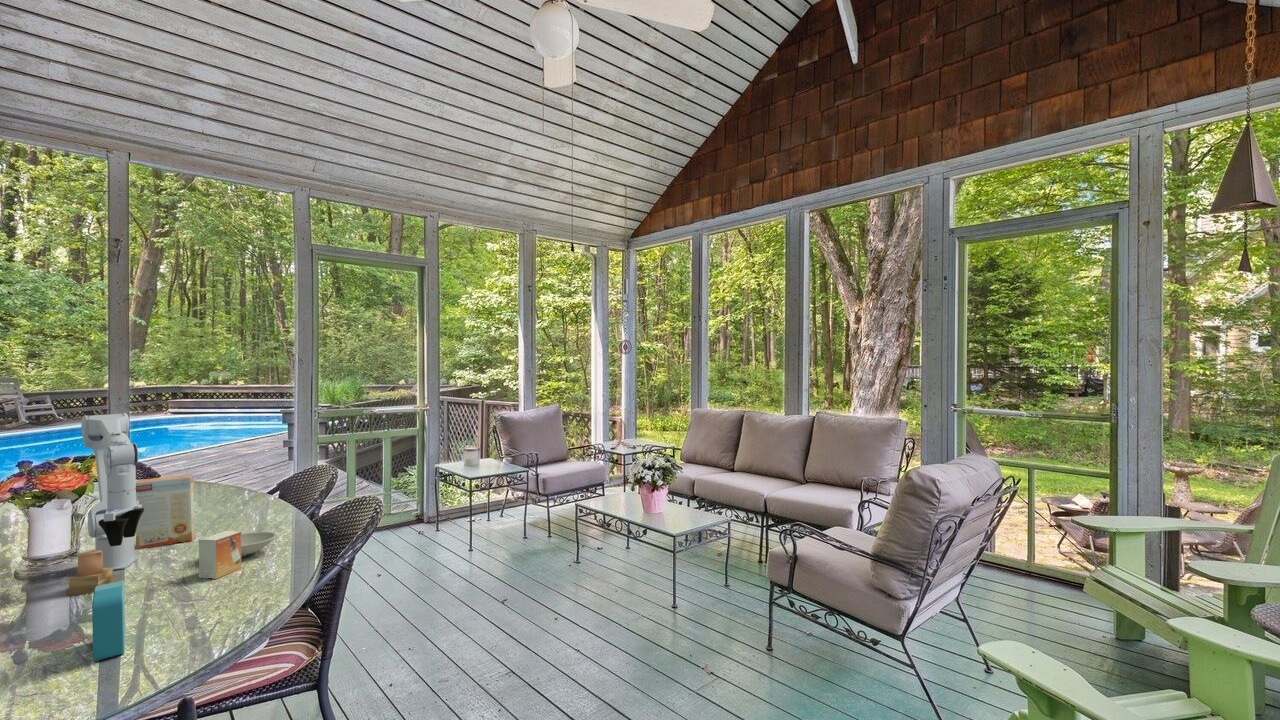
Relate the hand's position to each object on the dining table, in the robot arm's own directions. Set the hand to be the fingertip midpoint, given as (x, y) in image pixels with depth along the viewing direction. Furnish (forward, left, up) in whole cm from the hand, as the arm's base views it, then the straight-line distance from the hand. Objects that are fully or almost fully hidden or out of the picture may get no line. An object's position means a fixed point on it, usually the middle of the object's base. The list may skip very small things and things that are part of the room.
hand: (122, 541), depth 153 cm
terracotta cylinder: (+4, -5, -6) cm, 9 cm away
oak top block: (+4, -5, -9) cm, 11 cm away
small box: (+5, +23, -11) cm, 26 cm away
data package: (+45, +14, -11) cm, 48 cm away
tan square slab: (+4, -5, -11) cm, 13 cm away
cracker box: (-34, -1, -11) cm, 35 cm away
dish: (-9, +25, -11) cm, 28 cm away
